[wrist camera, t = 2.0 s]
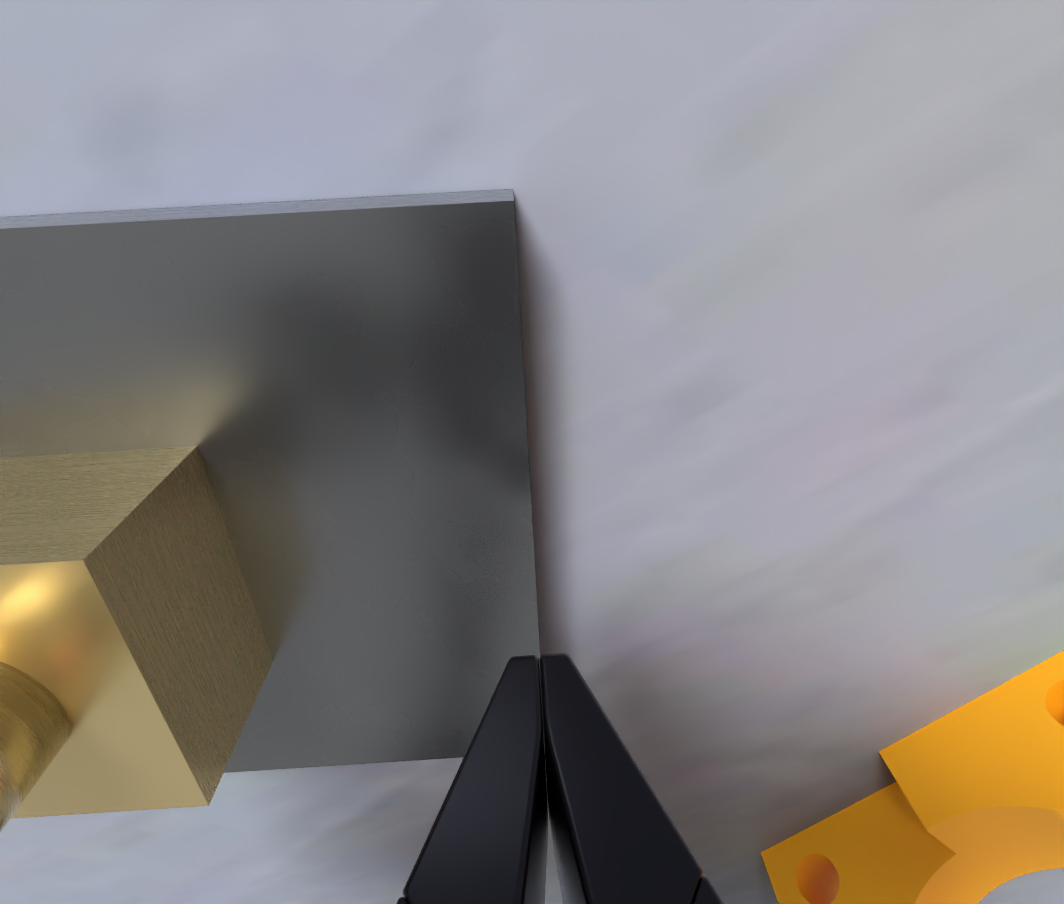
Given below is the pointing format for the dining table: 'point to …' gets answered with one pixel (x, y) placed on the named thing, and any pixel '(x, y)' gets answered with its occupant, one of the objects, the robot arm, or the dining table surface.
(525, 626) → the dark grey slab
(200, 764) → the gold block with knob
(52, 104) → the dining table surface
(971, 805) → the pipe clamp
